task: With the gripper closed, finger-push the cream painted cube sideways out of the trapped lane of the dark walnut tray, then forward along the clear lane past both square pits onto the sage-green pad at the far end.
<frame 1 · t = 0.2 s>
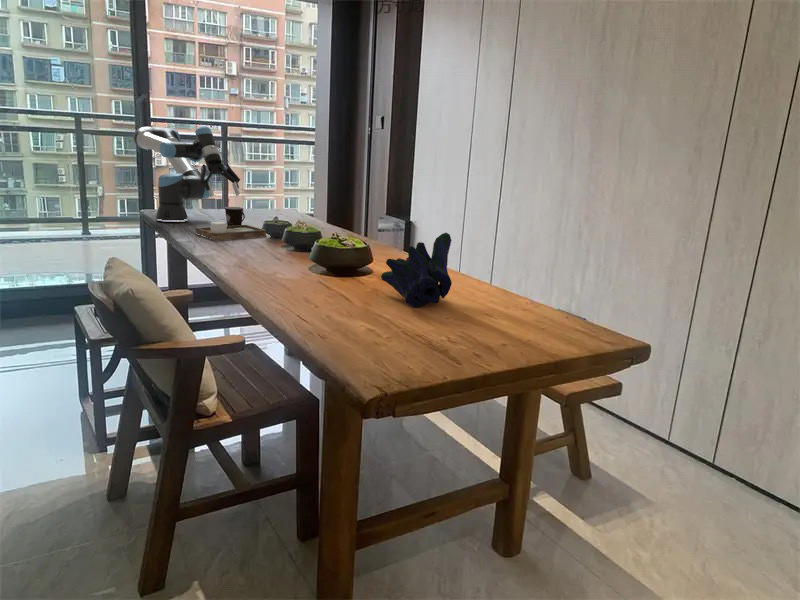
hand: (225, 195, 298), 16 cm above the table, tool tilted 35°, fingers open, 13 cm apart
coffee mug: (234, 229, 302), on the table
block: (218, 234, 274), point 2 cm above the table, touching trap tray
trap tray: (231, 235, 284), on the table
dark blue branching piece: (416, 298, 197), on the table
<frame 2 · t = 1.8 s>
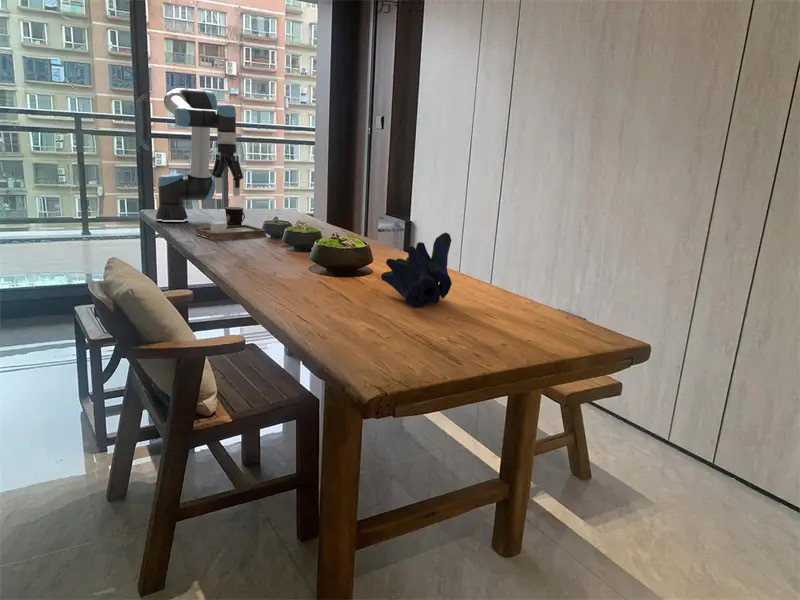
hand: (227, 194, 266), 20 cm above the table, tool pointing down, fingers open, 13 cm apart
nothing on the table moved.
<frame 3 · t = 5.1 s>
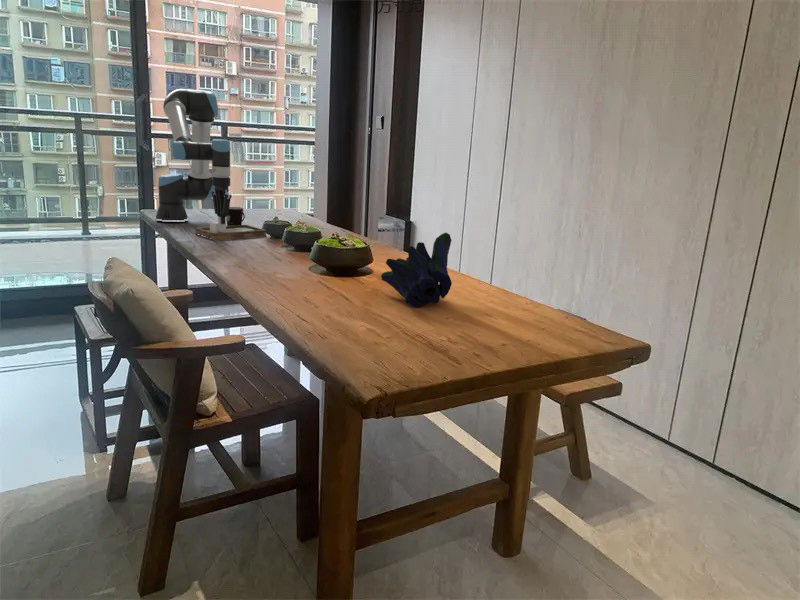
hand: (221, 231, 272), 4 cm above the table, tool pointing down, fingers closed
block: (217, 233, 275), point 2 cm above the table, touching gripper
everything else where it was.
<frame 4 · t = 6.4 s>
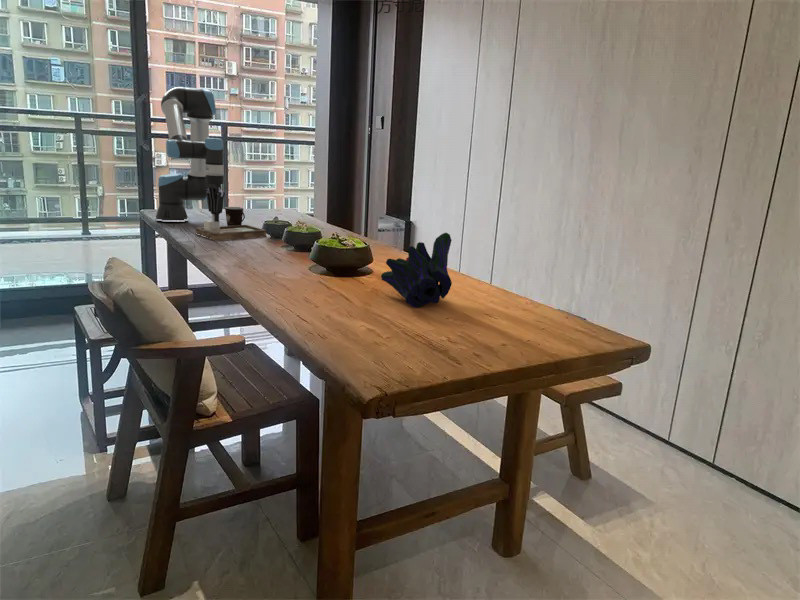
hand: (215, 228, 275), 4 cm above the table, tool pointing down, fingers closed
block: (211, 232, 278), point 2 cm above the table, touching gripper, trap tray
everything else where it was.
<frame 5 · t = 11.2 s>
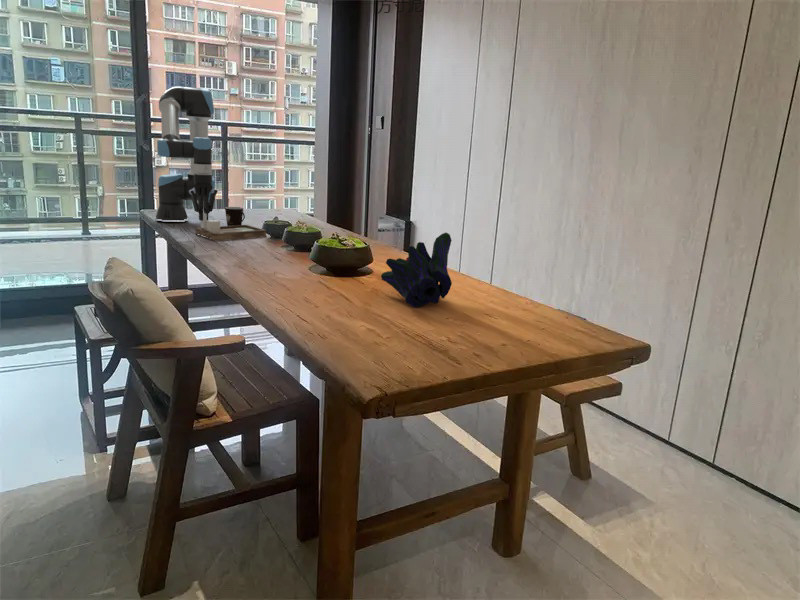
hand: (203, 227, 277), 4 cm above the table, tool pointing down, fingers closed
block: (212, 231, 278), point 2 cm above the table, touching gripper
everything else where it was.
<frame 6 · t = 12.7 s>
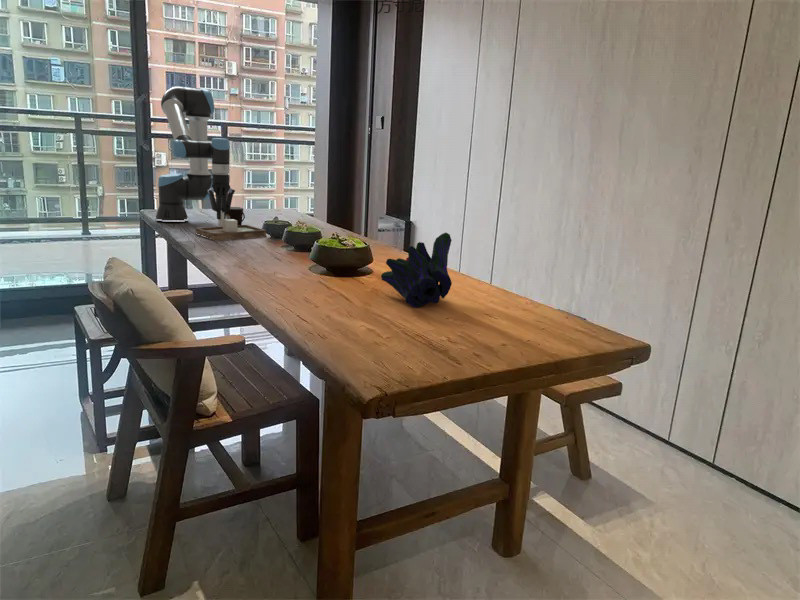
hand: (221, 226, 283), 4 cm above the table, tool pointing down, fingers closed
block: (230, 230, 284), point 2 cm above the table, touching gripper
everything else where it was.
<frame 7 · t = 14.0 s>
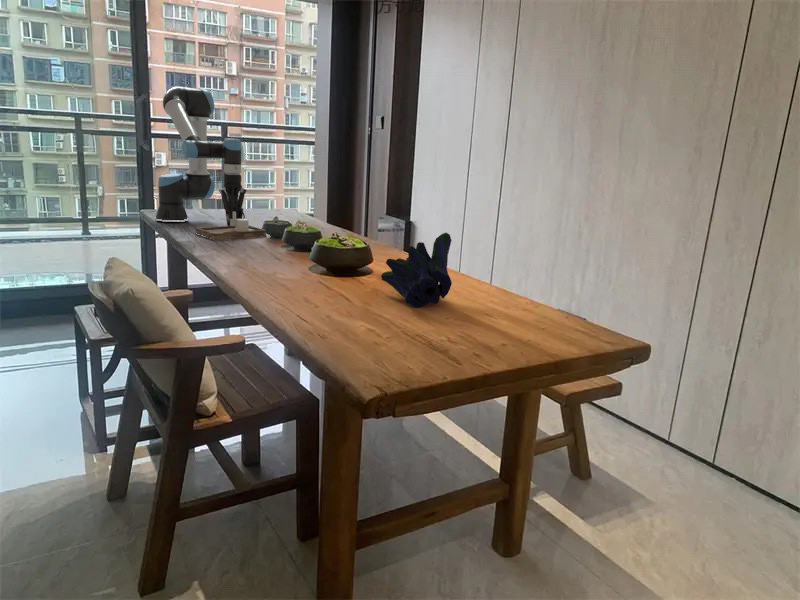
hand: (233, 225, 287), 4 cm above the table, tool pointing down, fingers closed
block: (241, 230, 287), point 2 cm above the table, touching gripper, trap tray
everything else where it was.
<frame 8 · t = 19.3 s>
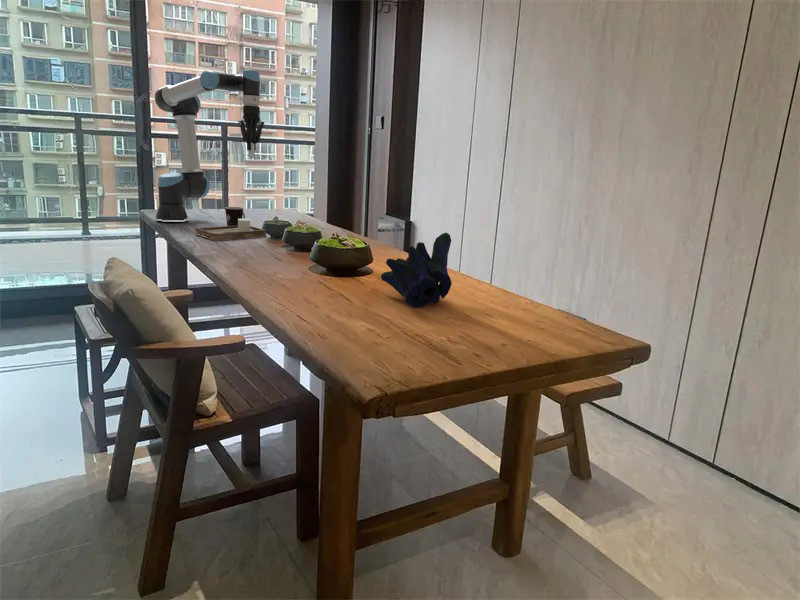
hand: (251, 157, 293), 34 cm above the table, tool pointing down, fingers closed
block: (244, 230, 288), point 2 cm above the table, touching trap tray
everything else where it was.
at the end: block inside the target area on the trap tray (3.7 cm from its centre), point 2.0 cm above the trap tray's base; block tilted 0° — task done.
